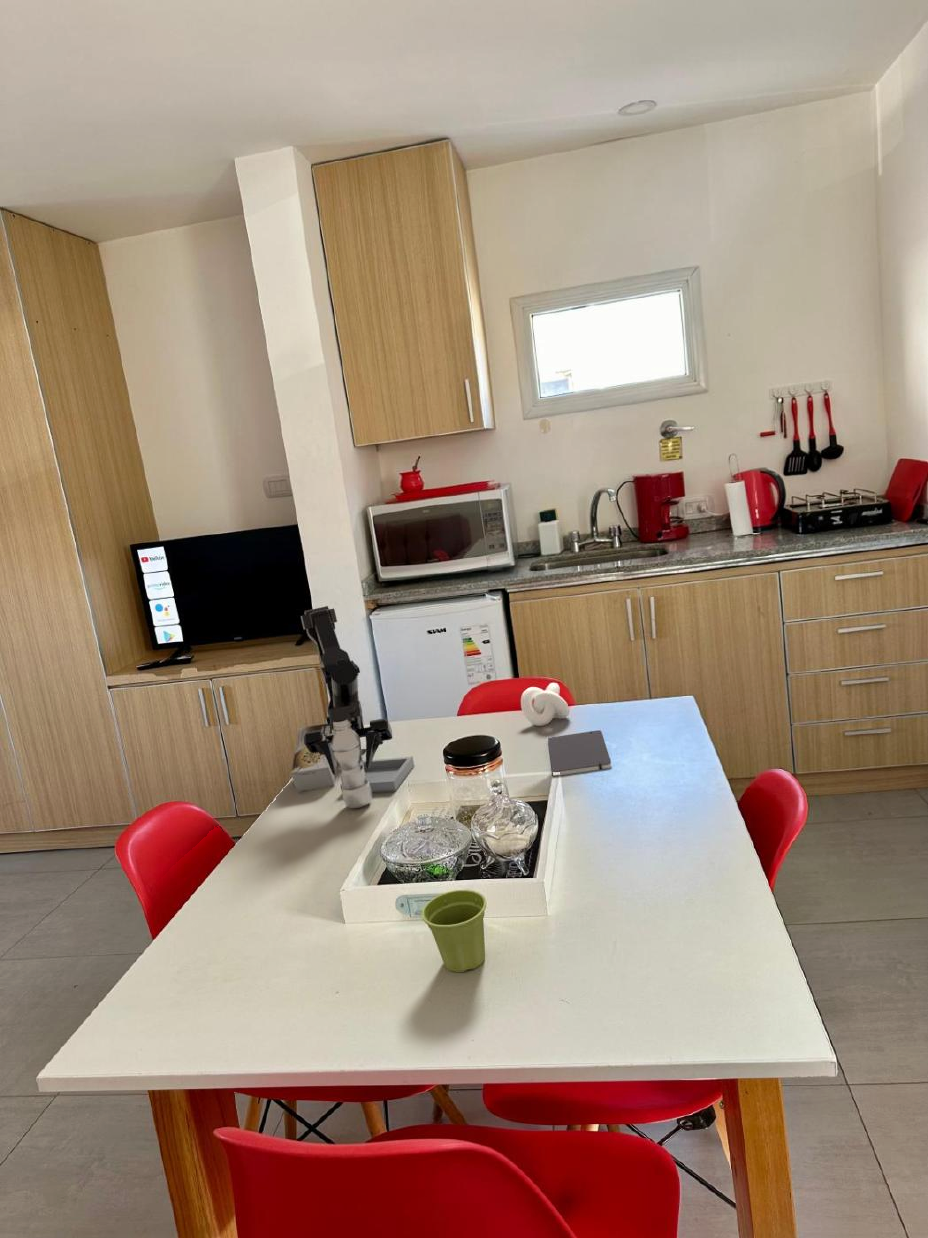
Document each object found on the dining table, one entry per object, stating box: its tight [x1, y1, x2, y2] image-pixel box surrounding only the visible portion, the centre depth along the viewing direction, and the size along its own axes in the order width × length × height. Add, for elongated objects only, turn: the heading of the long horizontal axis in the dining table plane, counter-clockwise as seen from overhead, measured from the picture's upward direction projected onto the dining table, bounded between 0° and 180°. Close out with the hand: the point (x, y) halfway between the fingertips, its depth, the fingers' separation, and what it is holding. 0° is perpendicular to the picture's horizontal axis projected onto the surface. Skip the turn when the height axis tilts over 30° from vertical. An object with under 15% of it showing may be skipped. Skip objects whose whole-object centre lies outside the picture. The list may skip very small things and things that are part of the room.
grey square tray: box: [340, 756, 415, 794], centre depth 200 cm, size 14×13×2 cm
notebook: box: [547, 729, 612, 776], centre depth 194 cm, size 13×2×21 cm
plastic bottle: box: [331, 719, 373, 809], centre depth 186 cm, size 6×7×20 cm
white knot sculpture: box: [520, 682, 570, 727], centre depth 219 cm, size 11×12×9 cm
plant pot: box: [421, 889, 487, 973], centre depth 124 cm, size 9×9×9 cm
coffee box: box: [290, 723, 338, 792], centre depth 207 cm, size 9×6×16 cm
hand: (350, 771), depth 185 cm, fingers open, 7 cm apart
